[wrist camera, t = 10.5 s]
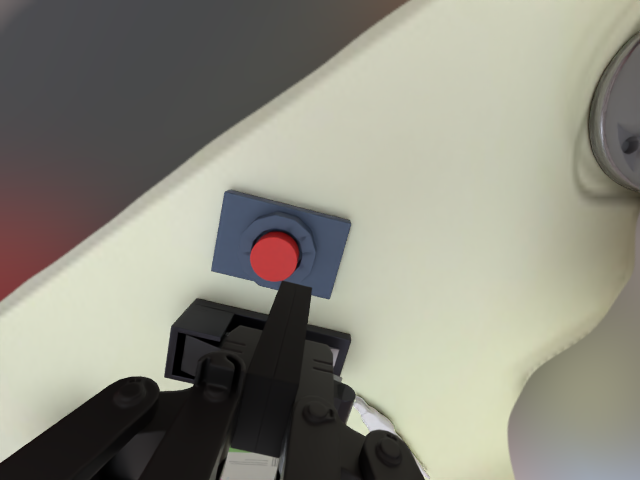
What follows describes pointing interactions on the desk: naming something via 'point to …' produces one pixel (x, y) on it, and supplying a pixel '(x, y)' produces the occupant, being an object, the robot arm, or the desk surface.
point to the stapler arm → (202, 346)
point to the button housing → (301, 224)
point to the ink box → (249, 466)
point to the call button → (274, 256)
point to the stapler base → (220, 318)
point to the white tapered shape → (379, 423)
